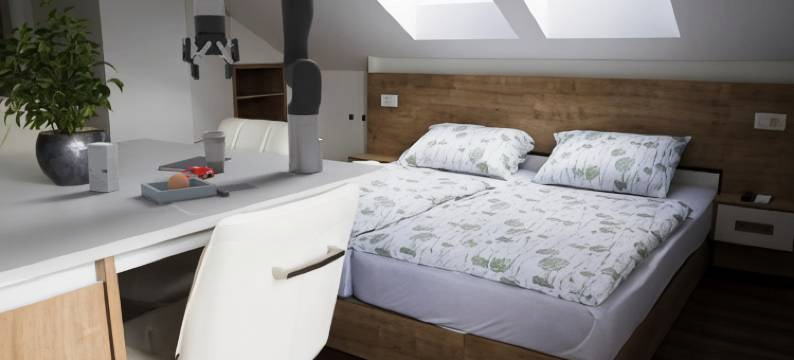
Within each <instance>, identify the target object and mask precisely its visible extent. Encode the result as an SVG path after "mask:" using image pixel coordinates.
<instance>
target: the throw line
mask: <svg viewBox="0 0 794 360" xmlns="http://www.w3.org/2000/svg"><path fill="white" fill-rule="evenodd" d="M216 189H217V195H219V196H221V197H223V198H228V197H230V192H229V191H227V190H224V189H222V188H219V187H217V186H216Z"/></svg>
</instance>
